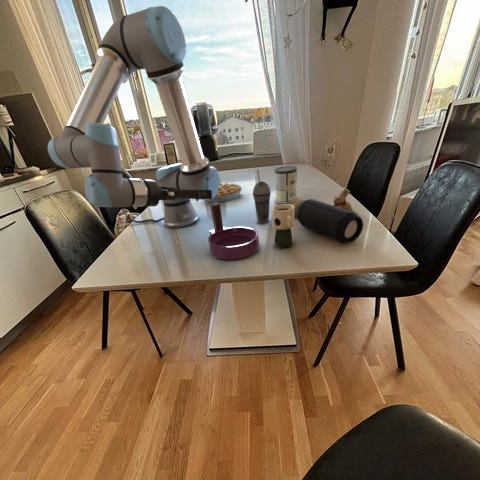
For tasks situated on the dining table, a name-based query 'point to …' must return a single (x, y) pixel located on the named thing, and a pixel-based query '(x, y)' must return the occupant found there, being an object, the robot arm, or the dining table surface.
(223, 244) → the bowl
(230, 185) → the pie
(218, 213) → the wooden stamp
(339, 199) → the chocolate bunny
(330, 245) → the dining table surface
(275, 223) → the character mug
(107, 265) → the dining table surface
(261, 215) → the beverage cup
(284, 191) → the coffee can
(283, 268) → the dining table surface
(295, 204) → the bread roll
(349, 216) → the portable speaker
